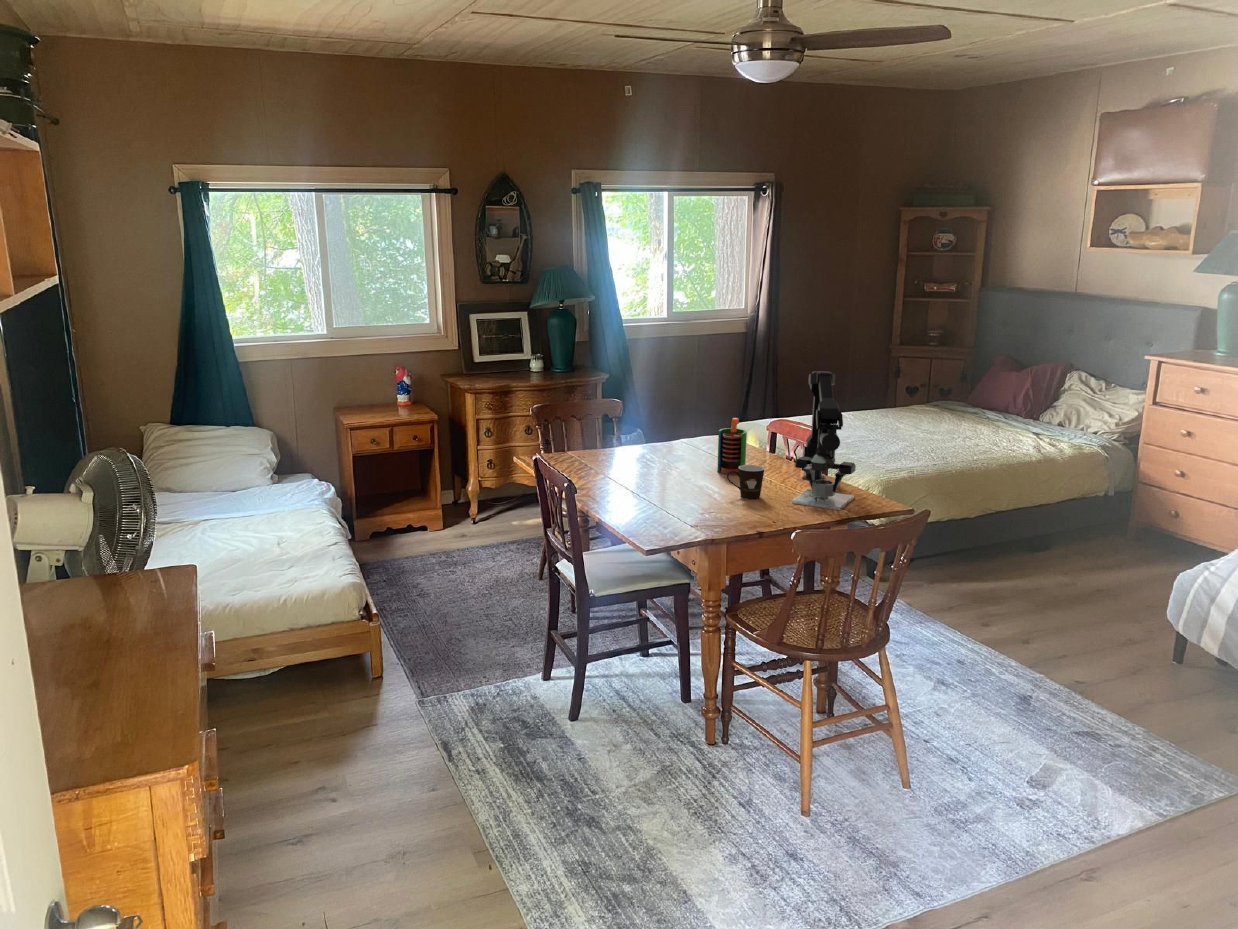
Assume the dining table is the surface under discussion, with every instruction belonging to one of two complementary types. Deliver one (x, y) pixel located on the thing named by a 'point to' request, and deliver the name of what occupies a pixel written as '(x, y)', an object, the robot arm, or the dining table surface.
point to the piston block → (823, 500)
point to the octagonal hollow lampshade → (823, 488)
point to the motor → (731, 448)
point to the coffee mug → (749, 481)
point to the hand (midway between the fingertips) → (823, 490)
